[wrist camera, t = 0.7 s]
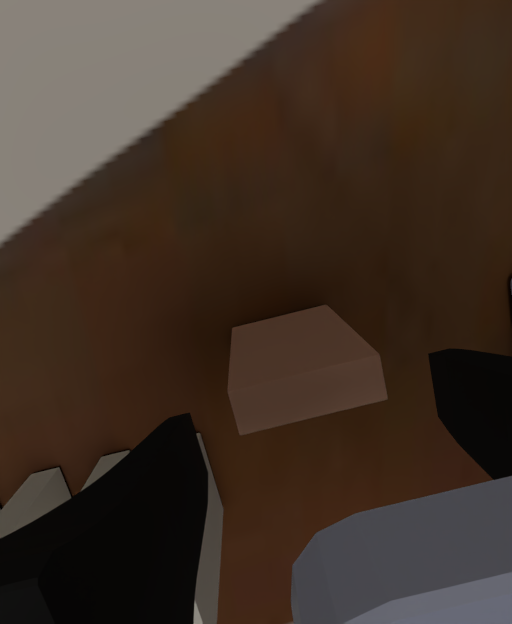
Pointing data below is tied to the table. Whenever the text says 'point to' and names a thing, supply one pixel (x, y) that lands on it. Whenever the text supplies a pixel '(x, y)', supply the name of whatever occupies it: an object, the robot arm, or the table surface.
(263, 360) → the terracotta domino
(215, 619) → the ivory domino
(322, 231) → the table surface
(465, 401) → the robot arm
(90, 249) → the table surface
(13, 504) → the ivory domino
